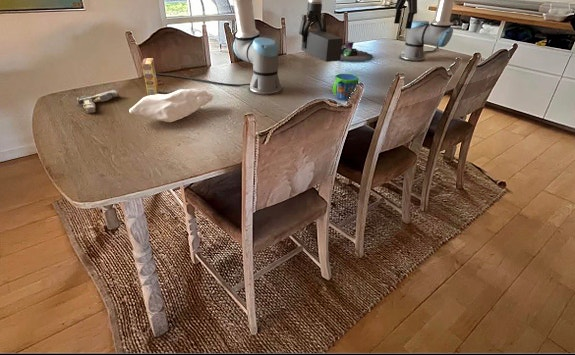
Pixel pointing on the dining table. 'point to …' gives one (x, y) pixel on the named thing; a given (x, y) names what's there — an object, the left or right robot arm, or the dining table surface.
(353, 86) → the snack cup
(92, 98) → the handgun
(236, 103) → the dining table surface
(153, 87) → the candy box
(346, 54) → the grey round platform
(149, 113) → the crumpled cloth
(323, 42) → the box
